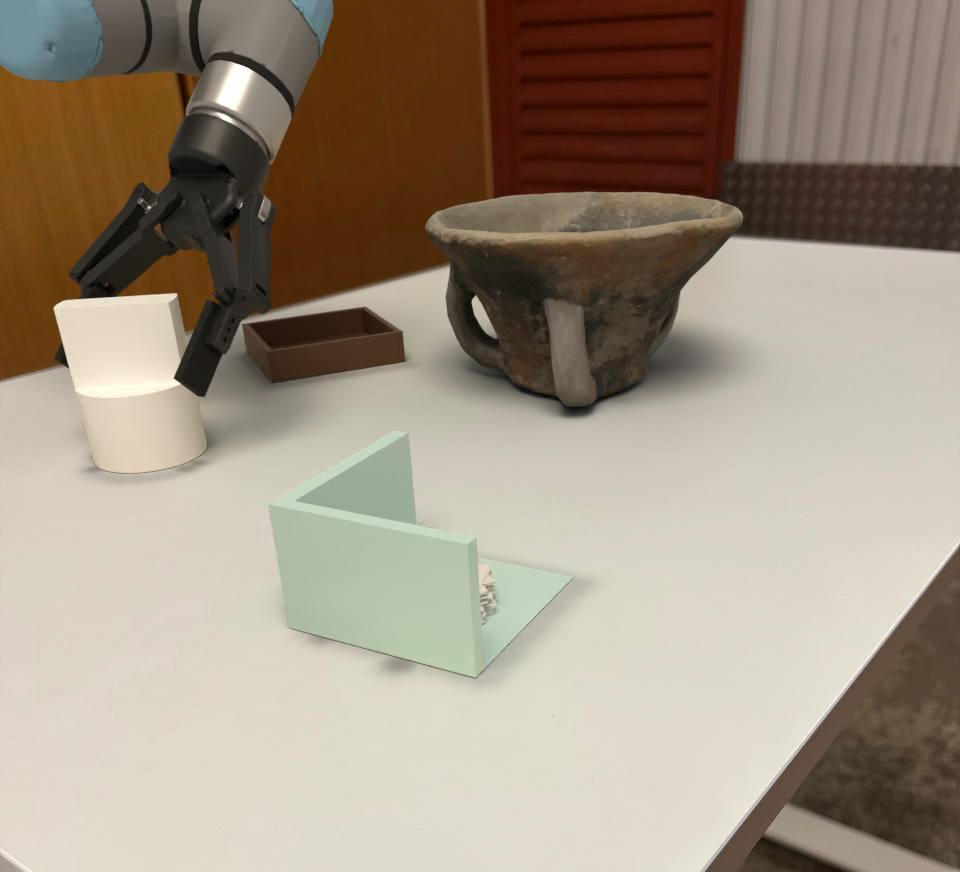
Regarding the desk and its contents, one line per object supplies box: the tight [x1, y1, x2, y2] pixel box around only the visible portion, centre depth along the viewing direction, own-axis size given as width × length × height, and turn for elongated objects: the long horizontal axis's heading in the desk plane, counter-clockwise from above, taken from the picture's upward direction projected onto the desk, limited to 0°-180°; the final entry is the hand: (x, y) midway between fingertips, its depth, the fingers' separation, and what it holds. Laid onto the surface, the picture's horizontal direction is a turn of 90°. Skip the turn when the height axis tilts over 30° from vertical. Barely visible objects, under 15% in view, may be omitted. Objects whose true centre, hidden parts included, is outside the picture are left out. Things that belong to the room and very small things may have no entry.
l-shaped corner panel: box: [267, 430, 574, 679], centre depth 55 cm, size 12×12×8 cm
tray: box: [241, 306, 406, 384], centre depth 102 cm, size 14×13×3 cm
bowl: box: [424, 191, 744, 408], centre depth 89 cm, size 27×26×15 cm
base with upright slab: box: [53, 292, 208, 474], centre depth 78 cm, size 9×9×12 cm
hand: (126, 378), depth 77 cm, fingers open, 13 cm apart
